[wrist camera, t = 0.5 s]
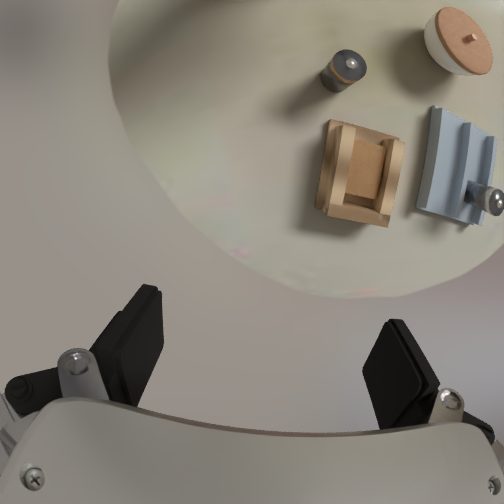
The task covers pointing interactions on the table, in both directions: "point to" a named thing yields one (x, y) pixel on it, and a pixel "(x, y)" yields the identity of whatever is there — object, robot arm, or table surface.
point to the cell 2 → (484, 197)
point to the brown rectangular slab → (365, 169)
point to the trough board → (455, 166)
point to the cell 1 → (343, 70)
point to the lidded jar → (458, 43)
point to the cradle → (337, 172)
